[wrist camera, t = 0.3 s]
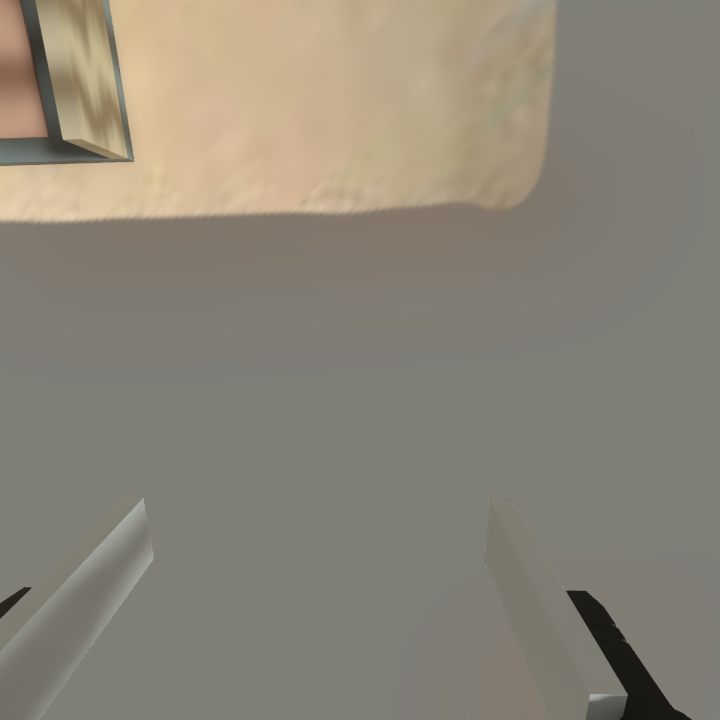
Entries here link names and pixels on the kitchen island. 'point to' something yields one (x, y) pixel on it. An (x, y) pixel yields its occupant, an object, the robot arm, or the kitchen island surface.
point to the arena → (60, 84)
